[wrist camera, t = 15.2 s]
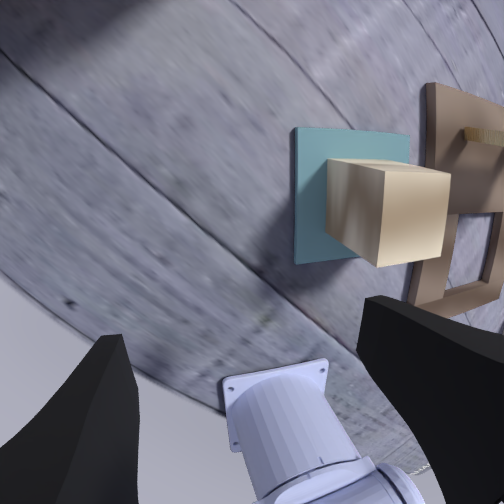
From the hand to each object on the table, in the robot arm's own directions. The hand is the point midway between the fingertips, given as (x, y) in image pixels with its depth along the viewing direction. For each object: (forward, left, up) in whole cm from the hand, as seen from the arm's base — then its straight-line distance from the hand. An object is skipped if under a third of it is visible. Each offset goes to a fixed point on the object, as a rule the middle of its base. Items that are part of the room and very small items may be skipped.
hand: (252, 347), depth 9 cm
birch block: (+2, -9, -10) cm, 13 cm away
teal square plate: (+2, -9, -10) cm, 14 cm away
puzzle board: (0, -22, -10) cm, 24 cm away
